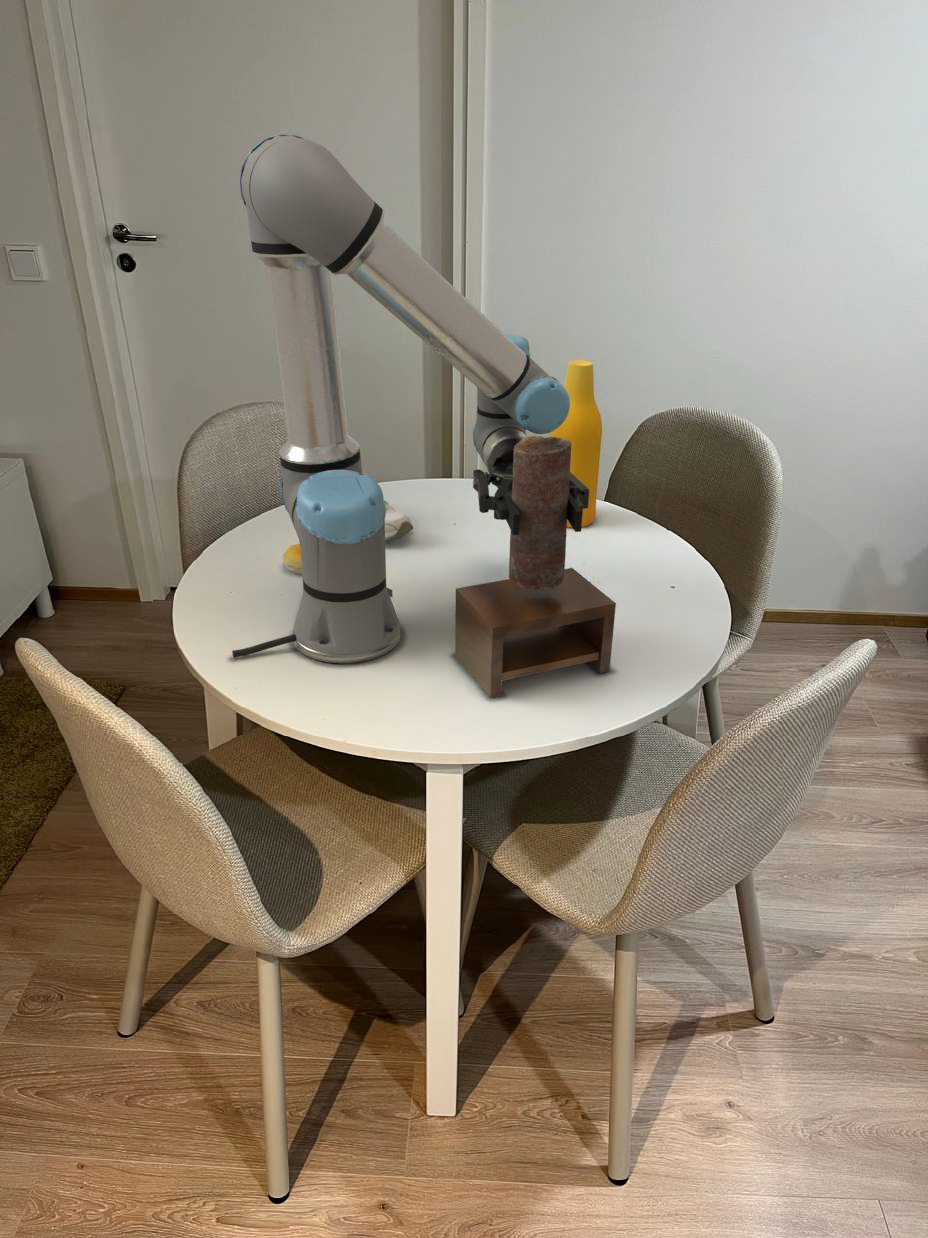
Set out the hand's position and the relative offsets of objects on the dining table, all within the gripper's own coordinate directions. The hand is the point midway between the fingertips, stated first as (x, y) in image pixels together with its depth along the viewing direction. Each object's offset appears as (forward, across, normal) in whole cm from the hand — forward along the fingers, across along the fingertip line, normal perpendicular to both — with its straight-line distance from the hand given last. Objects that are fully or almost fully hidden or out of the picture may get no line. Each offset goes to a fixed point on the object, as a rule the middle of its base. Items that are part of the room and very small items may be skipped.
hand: (547, 523), depth 121 cm
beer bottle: (-56, -18, -23) cm, 63 cm away
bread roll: (-41, +30, -23) cm, 56 cm away
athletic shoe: (-56, +20, -23) cm, 64 cm away
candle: (-5, 0, -11) cm, 12 cm away
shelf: (-5, 0, -23) cm, 24 cm away
